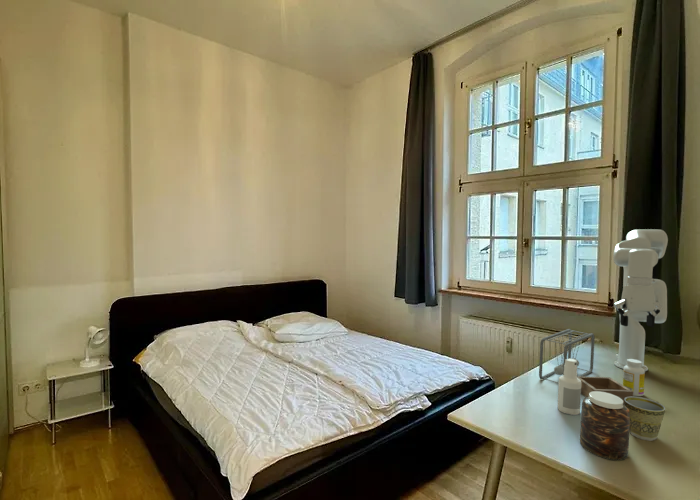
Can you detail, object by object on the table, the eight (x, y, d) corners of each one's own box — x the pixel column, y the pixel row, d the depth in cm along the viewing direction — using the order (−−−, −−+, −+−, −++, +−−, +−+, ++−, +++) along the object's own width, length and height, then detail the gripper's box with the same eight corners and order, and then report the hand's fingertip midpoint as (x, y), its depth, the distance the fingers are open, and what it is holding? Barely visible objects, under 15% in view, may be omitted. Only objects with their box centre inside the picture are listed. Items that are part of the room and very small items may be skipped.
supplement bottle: (641, 391, 149) (642, 359, 148) (645, 398, 143) (647, 364, 142) (620, 388, 152) (622, 357, 151) (624, 394, 146) (626, 362, 145)
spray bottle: (572, 417, 127) (574, 364, 126) (553, 408, 133) (555, 358, 133) (584, 412, 131) (586, 361, 130) (565, 404, 137) (567, 355, 136)
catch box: (574, 388, 151) (575, 376, 151) (609, 389, 150) (609, 377, 150) (594, 403, 138) (594, 390, 137) (632, 405, 137) (633, 391, 137)
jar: (635, 451, 108) (638, 399, 107) (618, 465, 101) (621, 410, 100) (589, 433, 117) (592, 385, 117) (572, 445, 111) (574, 394, 110)
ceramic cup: (651, 447, 110) (652, 413, 110) (615, 430, 119) (616, 399, 119) (676, 437, 115) (678, 405, 115) (640, 422, 124) (642, 392, 124)
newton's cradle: (564, 388, 151) (566, 344, 150) (538, 380, 159) (539, 338, 158) (593, 371, 170) (595, 332, 169) (568, 365, 178) (569, 327, 177)
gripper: (655, 281, 148) (652, 324, 149) (609, 280, 149) (607, 322, 150) (670, 283, 141) (668, 329, 142) (622, 282, 142) (620, 327, 142)
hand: (637, 325), depth 146 cm, fingers open, 9 cm apart
